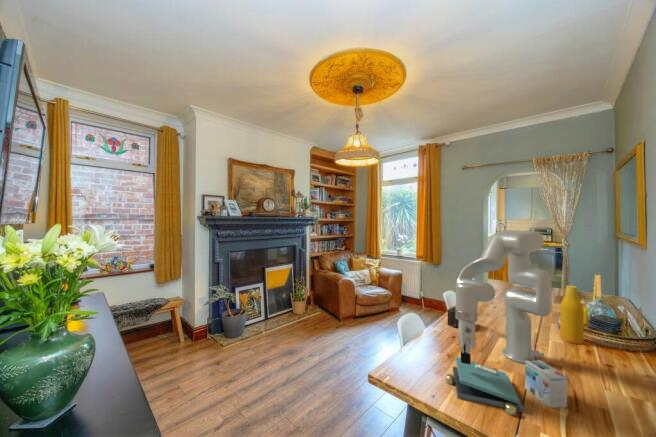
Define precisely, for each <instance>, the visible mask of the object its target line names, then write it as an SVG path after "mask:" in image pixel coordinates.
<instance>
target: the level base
mask: <svg viewBox="0 0 656 437" xmlns="http://www.w3.org/2000/svg"><path fill="white" fill-rule="evenodd" d="M493 369H494V368H493ZM494 370H497V369H494ZM497 371H499V370H497ZM507 377H508V379H509V381H510V383H511V385H512V387H513V389H514V391H515V393H516V395H517V397H518V399H519V404H517V403H514V402H511V401H509V400H506V399H503V398H500V397H498V396H495V395H492V394H489V393H486V392H484V391H481V390H478V389H475V388H473V387H470V386H467V385H464V384H461V383H460V379H459V374H458V369H457V366H452V374H450V373H449V374H448V373H447V374H446V377H445V378H446V379H445V383H446V384H448V385H450V386H454V387H455V392H456V398H457V399H459V400H465V401H469V402H474V403H478V404H483V405H486V406H490V407H491V406H492V407H495V408H496V407H497V408H501V409H505V410H504V411H505V413H506V414H507V415H508V416H511V417H516V416H517V412H519V413H524V405H523V403H522V401H521V399H520V398H519V395H518V393H517V391H516V389H515V388H514V385H513V384H512V382H511V380H510V377H509V376H508V375H507Z"/></svg>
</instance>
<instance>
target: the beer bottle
mask: <svg viewBox="0 0 656 437" xmlns="http://www.w3.org/2000/svg"><path fill="white" fill-rule="evenodd" d="M561 300H562V301H561V302H560V307H559V308H560V316H559V318H560V319H559V320H560V321H559V322H560V326H559V327H560V328H559V329H560V332H559V337H560V339H561V340H563V341H565V342H567V343H569V344H575V345H583V344H584V342H585V341H584V336H585V334H584V332H585V331H584V321H585V320H584V316H585V314H584V313H585V312H584V310H585V309H584V305H583V304H582V302H581V300H580V296H579V291H578V286H576V285H570V284H569V285H568V284H567V285H566V287H565V294H564V297H563V298H562V299H561Z"/></svg>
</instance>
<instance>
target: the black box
mask: <svg viewBox="0 0 656 437" xmlns="http://www.w3.org/2000/svg"><path fill="white" fill-rule="evenodd" d="M448 325H449V327H451V328H455V329H459V320H458V319H456V306H452V307H450V308H447V326H448Z"/></svg>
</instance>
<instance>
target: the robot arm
mask: <svg viewBox="0 0 656 437" xmlns="http://www.w3.org/2000/svg"><path fill="white" fill-rule="evenodd" d="M543 244H544V238H543V235H542V234H541V233H540V232H538V231H534V230H533V231H532V230H512V229H511V230H510V229H509V230H507V229H506V230H500V231H499V232H495V233H493V234H492V235H491V237H490V238H489V240H488V242H487V244H486V246H485V248H484V251H483V252H482V254H481V256H480V257H479V258H478V259H475V260H473V261H472V262H470V263H469V264H467V265H466V266H465V267H463V268H462V270H461V271H460V273H459V275H458V277H457V279H456V282H455V287H454V289H455V307H456V319H458V320H459V328H458V338H459V344H460V347H461V348H460V349H461V350H460V358H461V363H465V364H470V363H471V362H472V361H471V359H472V358H471V355H472V354H471V349H472V350H476V349H477V348H476V346H477V345H476V343H477V342H476V341H477V340H476V323H477V322H478V306H479V305H478V304H479V302H481V303H482V302H483V303H484V302H485V303H487V302H490V301H493V300H494V298H495V297H496V290H495V287H494V285H492V284H490V283H488V282H486V281H481V280H477V279H474V278H475V277H477V276H478V275H482V274H485V273H490V272H493V271H494V272H496V271H499V270H501V269H502V268H503V266H504V264H505V262H506V259H507V279H508V283H509V284H510V285H512V286H514V287H518V288H508V289H507V290H505V292H504V294H503V300H504V305H505V312H506V321H505V322H506V326H505V327H506V333H505V334H506V335H505V338H506V341H505V342H506V344H505V345H506V346H505V348H503V349H502V350H501V352H502V355H503V356H504V357H506V358H507V359H509V360H512V361H514V362H517V363H522V364H526V361H537V360H536V357H537V358H543V359H544V358H545V354H544V353H543V352H540V351H538V350H535V349H532V320H531V317H530V316H529V314H532V315H535V316H538V317H539V316H540V317H547V316H549V315H550V314H551V310H552V285H553V284H552V277H551V275H550V274H549V272H548V271H546V270H544V269H540V268H534V267H533V268H532V267H531V256H530V254H531V253H534V252H537V251H539V250H540V249H541V248H542V247H543ZM520 288H522V289H520ZM523 289H528V290H533V291H534V292H533V291H528V290H523Z"/></svg>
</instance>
